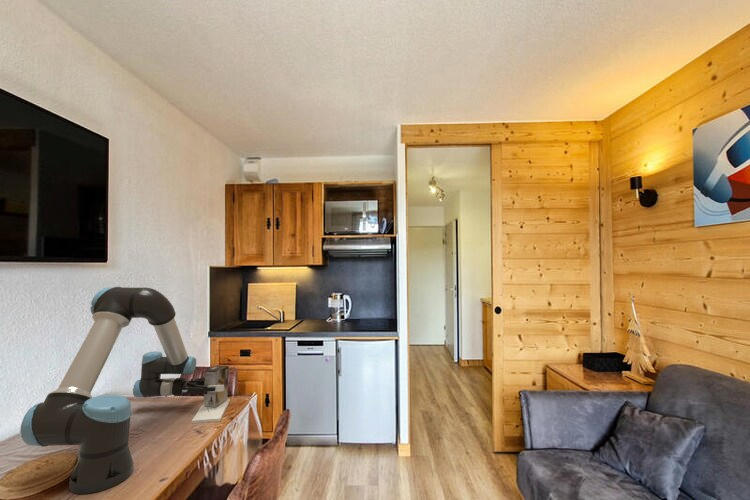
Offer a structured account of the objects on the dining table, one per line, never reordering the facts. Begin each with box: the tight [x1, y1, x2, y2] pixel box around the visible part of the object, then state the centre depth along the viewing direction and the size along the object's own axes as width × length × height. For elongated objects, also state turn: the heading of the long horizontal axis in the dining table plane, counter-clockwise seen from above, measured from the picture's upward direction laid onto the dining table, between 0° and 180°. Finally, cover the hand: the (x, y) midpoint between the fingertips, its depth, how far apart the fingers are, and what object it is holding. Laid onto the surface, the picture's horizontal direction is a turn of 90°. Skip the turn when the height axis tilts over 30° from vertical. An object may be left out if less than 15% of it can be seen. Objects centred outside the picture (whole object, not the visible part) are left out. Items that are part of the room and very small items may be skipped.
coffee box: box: [202, 364, 230, 407], centre depth 156 cm, size 9×6×16 cm
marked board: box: [191, 398, 231, 424], centre depth 150 cm, size 22×11×1 cm, turn 14°
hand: (226, 384), depth 157 cm, fingers closed on coffee box, 10 cm apart
